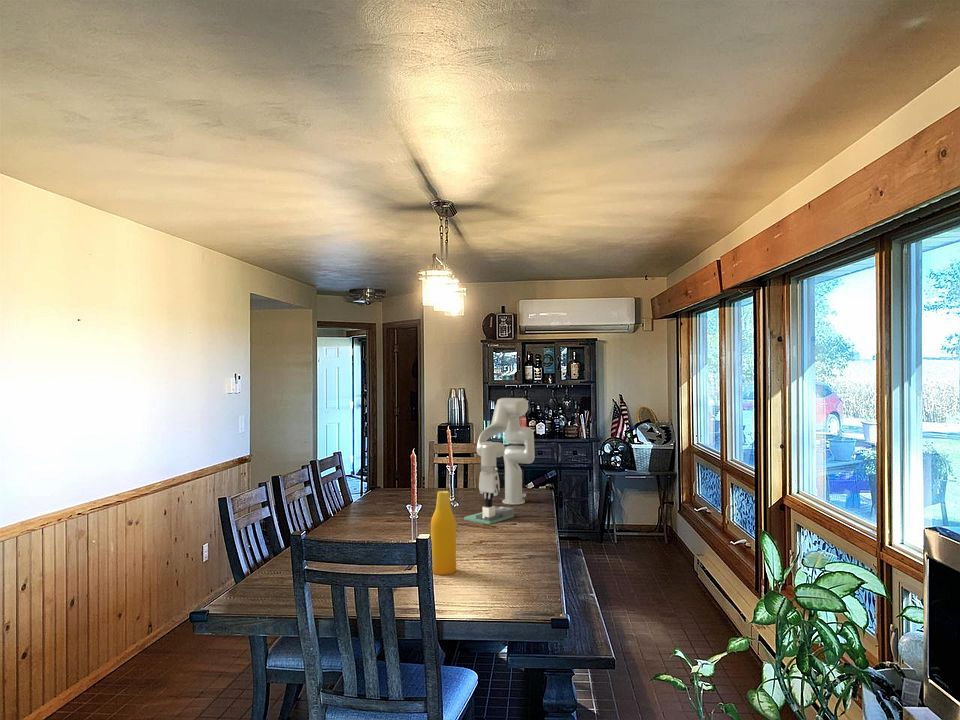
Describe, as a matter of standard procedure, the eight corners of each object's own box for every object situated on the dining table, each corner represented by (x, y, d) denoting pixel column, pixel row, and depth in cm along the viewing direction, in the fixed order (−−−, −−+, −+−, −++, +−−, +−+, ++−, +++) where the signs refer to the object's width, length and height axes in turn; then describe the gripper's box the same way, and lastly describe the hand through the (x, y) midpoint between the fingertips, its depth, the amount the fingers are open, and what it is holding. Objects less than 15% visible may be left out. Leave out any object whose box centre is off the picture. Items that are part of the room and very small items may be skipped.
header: (488, 515, 320) (488, 511, 320) (501, 517, 315) (501, 514, 315) (476, 518, 313) (476, 515, 313) (489, 521, 307) (489, 517, 307)
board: (489, 512, 332) (489, 510, 332) (514, 516, 321) (514, 514, 321) (464, 519, 316) (464, 517, 316) (489, 524, 306) (489, 521, 306)
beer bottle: (442, 566, 240) (442, 488, 241) (461, 570, 234) (461, 491, 235) (425, 572, 233) (425, 492, 234) (444, 577, 227) (444, 495, 228)
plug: (488, 515, 317) (488, 504, 317) (495, 516, 314) (495, 505, 314) (482, 517, 313) (482, 506, 313) (488, 518, 310) (488, 507, 311)
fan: (501, 512, 326) (501, 505, 327) (514, 514, 321) (514, 507, 321) (491, 515, 320) (491, 507, 320) (504, 517, 315) (504, 510, 315)
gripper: (505, 469, 312) (505, 507, 312) (481, 467, 322) (481, 503, 321) (496, 471, 307) (496, 510, 306) (472, 468, 316) (472, 506, 316)
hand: (488, 506), depth 314 cm, fingers closed
